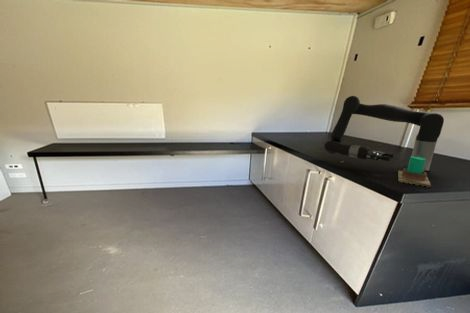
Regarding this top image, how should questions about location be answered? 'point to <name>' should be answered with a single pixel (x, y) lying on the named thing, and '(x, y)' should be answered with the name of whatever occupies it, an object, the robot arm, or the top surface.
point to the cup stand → (413, 178)
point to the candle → (416, 164)
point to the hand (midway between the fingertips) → (391, 157)
